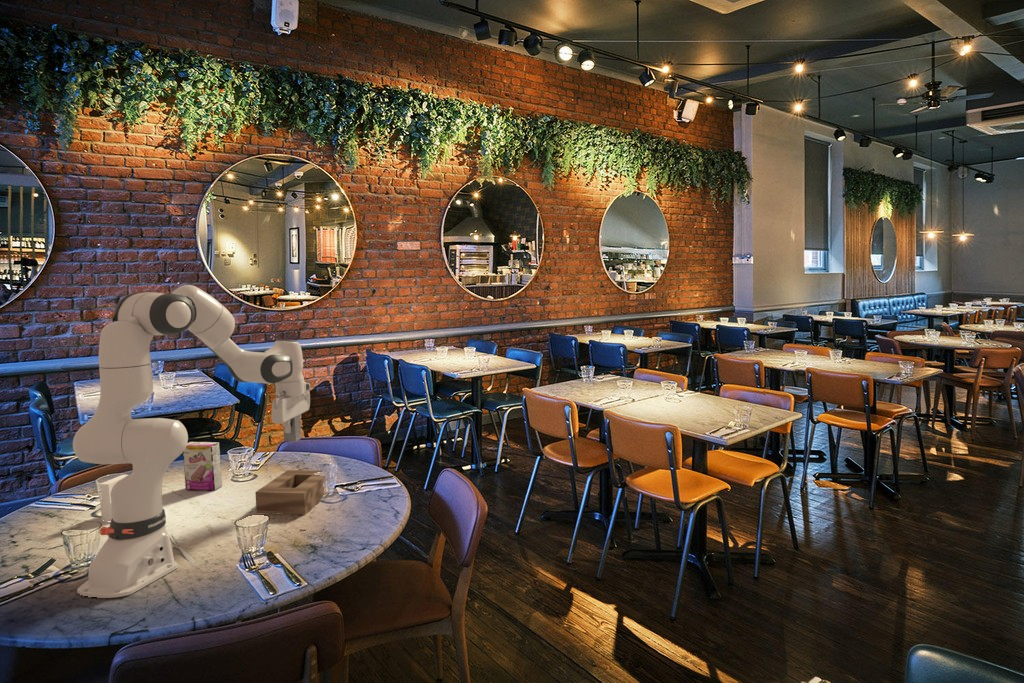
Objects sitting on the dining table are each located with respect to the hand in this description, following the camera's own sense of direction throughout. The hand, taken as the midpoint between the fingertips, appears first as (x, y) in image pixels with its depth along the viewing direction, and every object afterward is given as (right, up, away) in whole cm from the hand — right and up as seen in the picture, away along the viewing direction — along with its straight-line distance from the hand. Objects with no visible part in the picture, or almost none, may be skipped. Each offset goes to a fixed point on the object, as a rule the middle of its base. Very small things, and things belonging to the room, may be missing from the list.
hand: (292, 430), depth 203 cm
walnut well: (0, -24, +3) cm, 24 cm away
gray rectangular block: (0, -3, 0) cm, 3 cm away
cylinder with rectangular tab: (-52, -26, -8) cm, 59 cm away
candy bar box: (-37, -23, +17) cm, 47 cm away
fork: (-18, -29, -34) cm, 48 cm away
